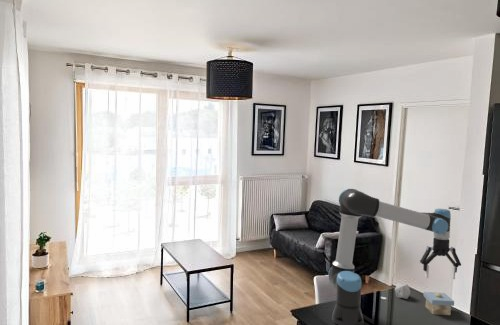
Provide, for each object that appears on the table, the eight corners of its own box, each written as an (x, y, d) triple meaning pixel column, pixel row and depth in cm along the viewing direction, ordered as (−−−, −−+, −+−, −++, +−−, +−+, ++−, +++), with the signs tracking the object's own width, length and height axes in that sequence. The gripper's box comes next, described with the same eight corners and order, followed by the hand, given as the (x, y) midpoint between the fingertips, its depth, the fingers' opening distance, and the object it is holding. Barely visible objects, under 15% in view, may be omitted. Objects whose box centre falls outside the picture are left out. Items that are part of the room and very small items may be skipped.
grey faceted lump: (390, 295, 215) (391, 286, 210) (400, 286, 219) (401, 276, 213) (403, 305, 209) (404, 295, 203) (413, 296, 212) (414, 286, 207)
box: (432, 315, 190) (433, 303, 189) (425, 307, 199) (426, 296, 198) (450, 316, 189) (451, 304, 189) (442, 308, 198) (443, 297, 198)
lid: (432, 305, 188) (432, 298, 188) (423, 297, 199) (423, 290, 199) (453, 306, 188) (454, 299, 188) (444, 298, 199) (444, 291, 199)
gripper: (420, 238, 189) (418, 278, 190) (469, 240, 188) (467, 281, 188) (414, 235, 197) (412, 274, 198) (462, 237, 195) (460, 276, 196)
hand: (439, 277), depth 193 cm, fingers open, 13 cm apart
